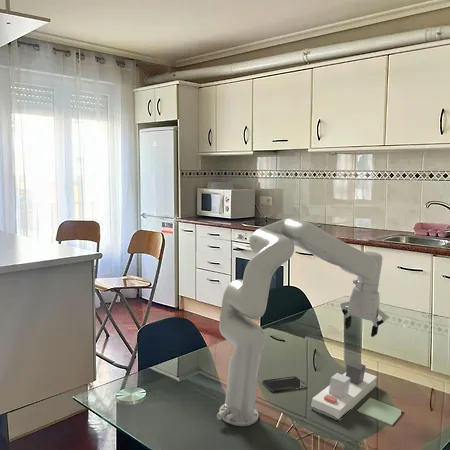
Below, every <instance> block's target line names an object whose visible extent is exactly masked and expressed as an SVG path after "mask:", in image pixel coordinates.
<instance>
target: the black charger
mask: <svg viewBox="0 0 450 450" xmlns="http://www.w3.org/2000/svg"><path fill="white" fill-rule="evenodd" d="M365 372H366V365H365V364H363V363H359V362H357V361H354V360H352V361H351V362H349V363H348V364H347V367H346V371H345V373H346V376H347V377H350V382H351V383H354V384H356V385H359V384H360V383H361V382H362V381H363V379H364V373H365Z"/></svg>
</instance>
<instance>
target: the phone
mask: <svg viewBox="0 0 450 450" xmlns="http://www.w3.org/2000/svg"><path fill="white" fill-rule="evenodd" d="M300 381H301V382H302V383H303V384H305V382H304V381H302V380H301V379H299V378H298V377H297V376H286V377H279V378H270V379H264V380H262V382H261V384H262V385H263V386H264V387H265V388H266V389H267V391H269V392H270V393H274V394H275V393H280V392H287V391H288V390H289V391H293V390H292V389H296V388H300ZM301 387H303V386H301ZM296 390H297V389H296Z"/></svg>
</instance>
